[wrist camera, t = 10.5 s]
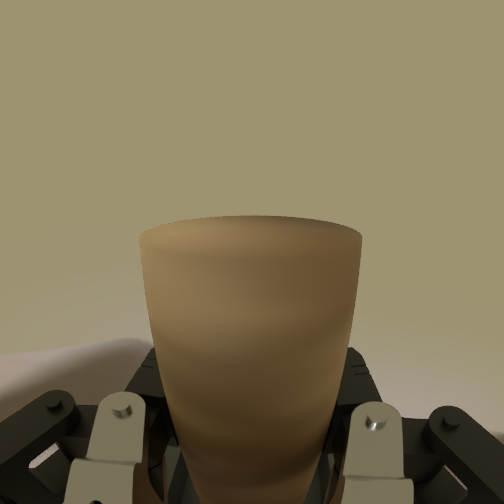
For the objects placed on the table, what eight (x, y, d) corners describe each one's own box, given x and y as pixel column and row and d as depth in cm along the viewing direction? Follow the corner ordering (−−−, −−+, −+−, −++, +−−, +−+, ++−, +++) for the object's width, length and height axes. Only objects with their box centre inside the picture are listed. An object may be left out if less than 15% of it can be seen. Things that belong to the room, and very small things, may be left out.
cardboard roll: (196, 534, 7) (92, 256, 4) (210, 464, 11) (179, 216, 8) (302, 539, 6) (402, 260, 3) (299, 467, 11) (333, 217, 8)
